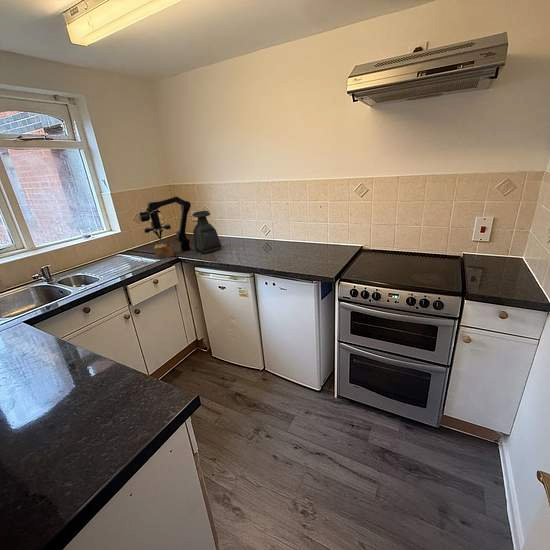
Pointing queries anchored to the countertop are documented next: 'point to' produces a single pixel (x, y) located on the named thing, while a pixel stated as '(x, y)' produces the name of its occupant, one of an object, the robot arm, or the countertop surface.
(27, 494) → the countertop surface
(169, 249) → the carton
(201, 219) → the bottle
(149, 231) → the robot arm
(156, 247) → the flap
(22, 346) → the countertop surface
